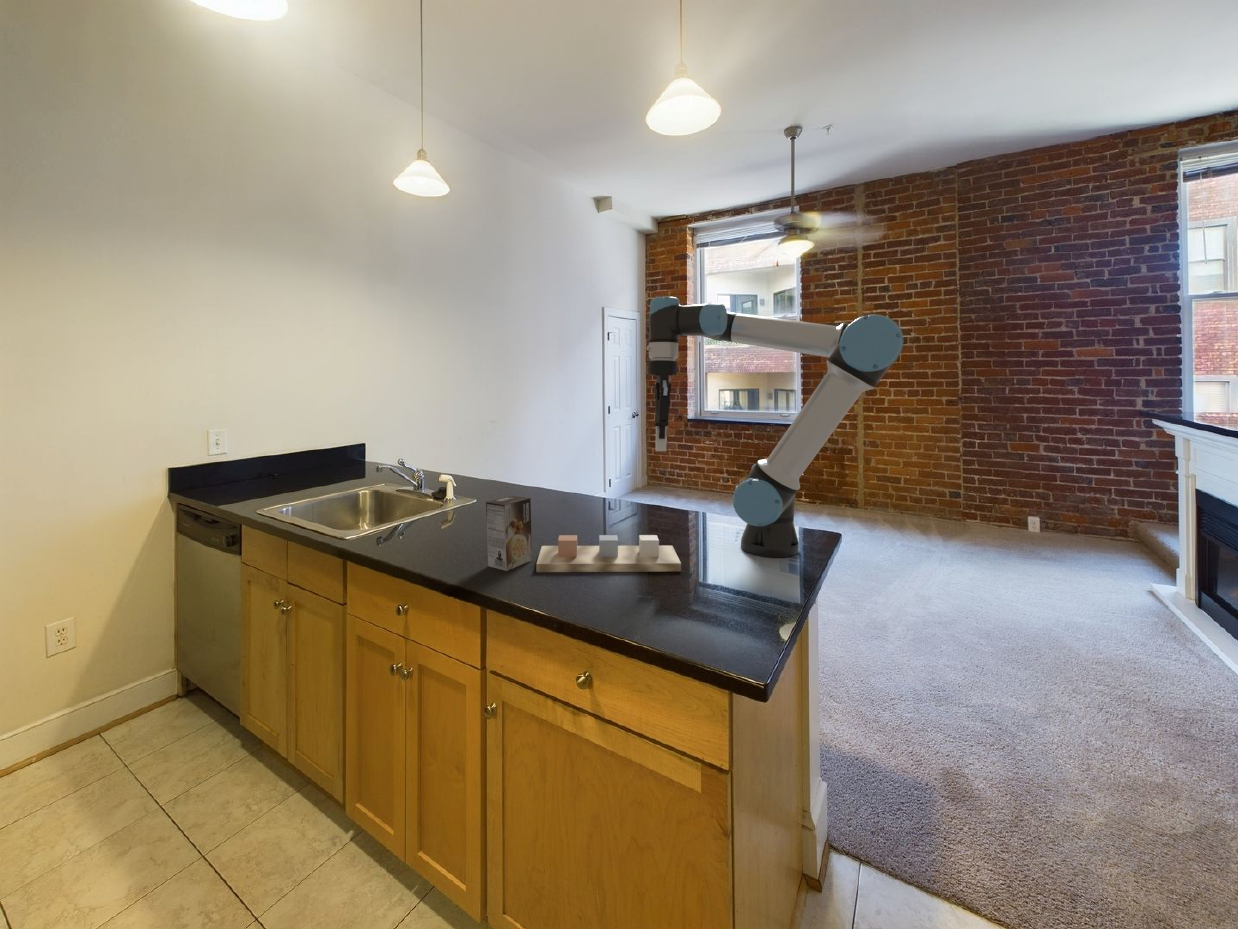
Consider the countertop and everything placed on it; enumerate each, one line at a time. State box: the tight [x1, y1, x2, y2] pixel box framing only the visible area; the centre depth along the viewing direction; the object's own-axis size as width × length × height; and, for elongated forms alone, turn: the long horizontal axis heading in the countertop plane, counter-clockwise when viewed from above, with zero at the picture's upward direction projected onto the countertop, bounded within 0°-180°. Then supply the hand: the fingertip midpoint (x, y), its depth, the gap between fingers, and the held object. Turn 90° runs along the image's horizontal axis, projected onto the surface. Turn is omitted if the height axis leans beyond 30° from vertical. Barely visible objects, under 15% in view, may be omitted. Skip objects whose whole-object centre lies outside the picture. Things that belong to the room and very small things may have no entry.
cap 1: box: [557, 534, 578, 557], centre depth 131 cm, size 4×4×4 cm
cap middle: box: [598, 534, 619, 557], centre depth 132 cm, size 4×4×4 cm
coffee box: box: [485, 495, 533, 572], centre depth 129 cm, size 9×6×16 cm
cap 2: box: [638, 534, 660, 557], centre depth 132 cm, size 4×4×4 cm
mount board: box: [535, 545, 682, 573], centre depth 132 cm, size 34×14×5 cm, turn 93°
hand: (660, 450), depth 141 cm, fingers closed
